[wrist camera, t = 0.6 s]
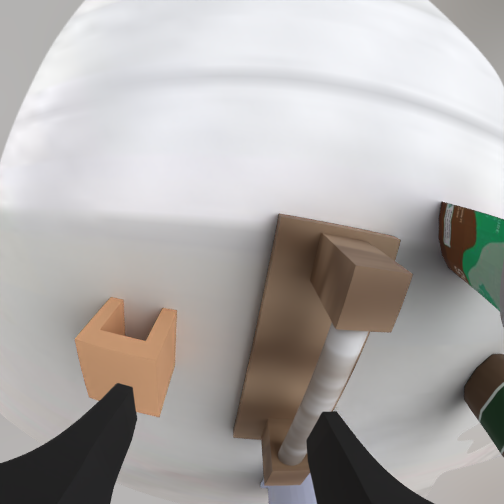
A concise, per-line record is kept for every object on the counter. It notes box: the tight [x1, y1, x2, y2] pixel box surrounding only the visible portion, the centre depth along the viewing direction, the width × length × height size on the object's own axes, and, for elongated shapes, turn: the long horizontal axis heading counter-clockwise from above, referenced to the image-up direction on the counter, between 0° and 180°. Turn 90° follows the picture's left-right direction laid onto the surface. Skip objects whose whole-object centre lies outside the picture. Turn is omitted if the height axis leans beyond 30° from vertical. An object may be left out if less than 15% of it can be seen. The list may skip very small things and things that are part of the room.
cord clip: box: [75, 297, 177, 417], centre depth 16 cm, size 5×5×6 cm
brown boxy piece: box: [233, 214, 413, 486], centre depth 17 cm, size 20×8×6 cm, turn 170°
